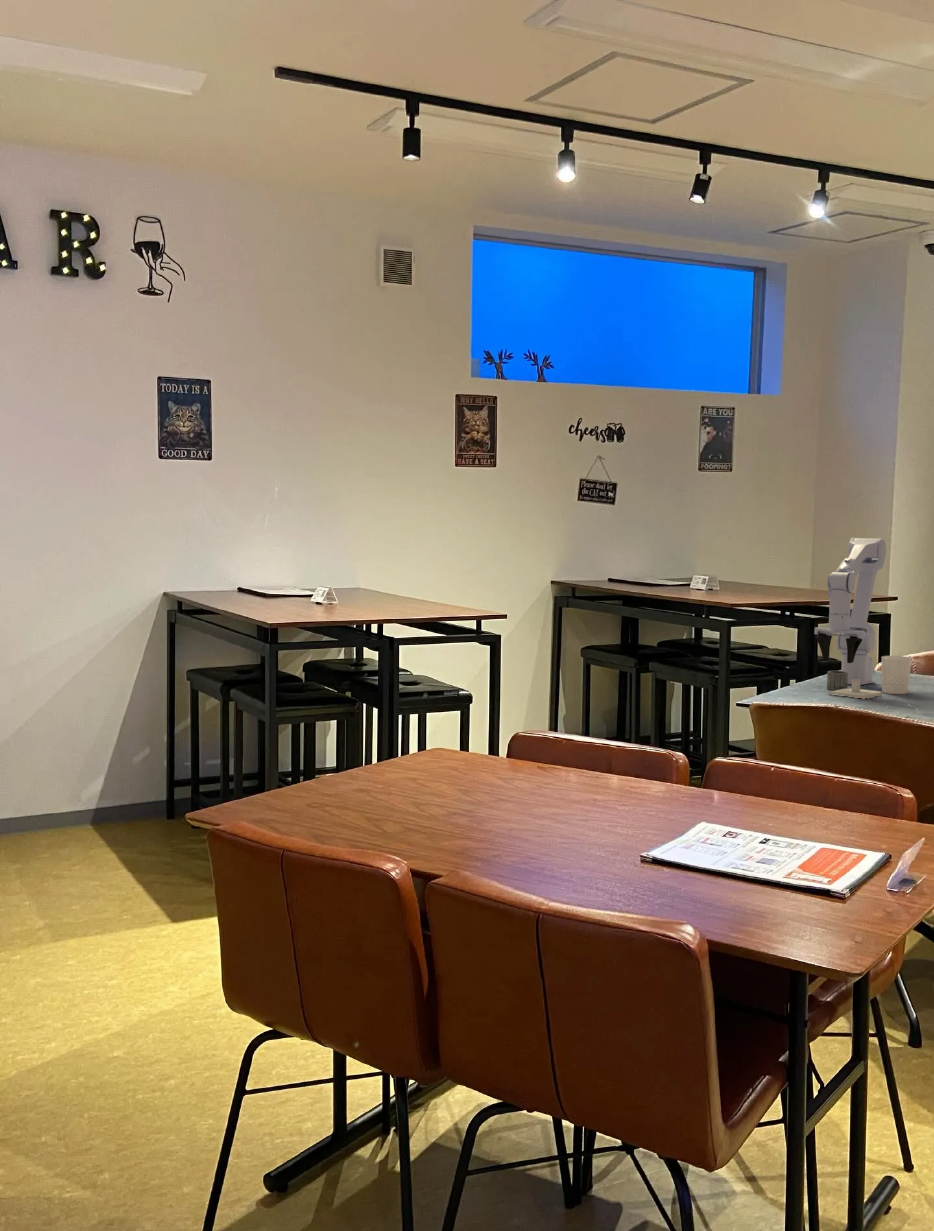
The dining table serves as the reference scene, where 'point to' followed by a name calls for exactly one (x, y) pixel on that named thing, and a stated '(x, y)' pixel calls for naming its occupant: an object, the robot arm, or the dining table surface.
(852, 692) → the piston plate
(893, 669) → the white cup
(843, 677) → the ring
